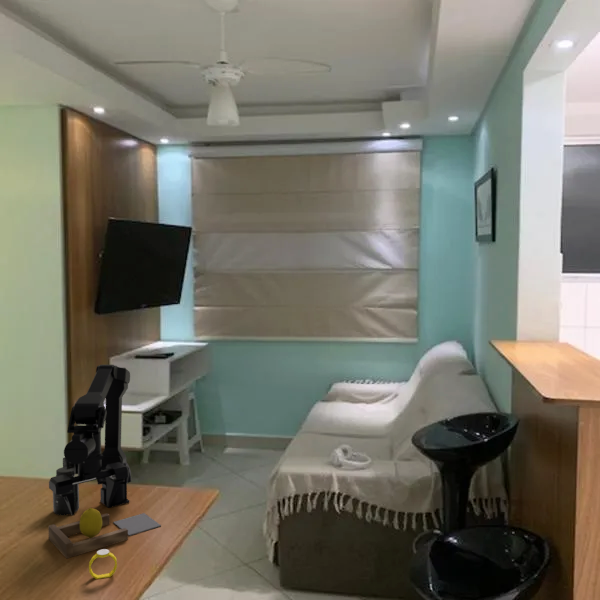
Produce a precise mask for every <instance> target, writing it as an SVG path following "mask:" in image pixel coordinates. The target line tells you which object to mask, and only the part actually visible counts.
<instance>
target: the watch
mask: <svg viewBox="0 0 600 600" xmlns="http://www.w3.org/2000/svg"><path fill="white" fill-rule="evenodd" d="M107 557H111V558H112V560H113V561H114V565H113V566H114V567H113V569H112V570H111V571H110V572H109V573H103V574H97V573H94V571H93V569H92V564H93V562H94V561H95V560H96V559H97V558H101V559H103V558H107ZM117 568H118V563H117V557H116V556H115V555H114V553H112V552H110V549H106V548H103V549H102V548H100V549H98V550H97V551H96V553H95V554H94V555H93V556H92V557H91V559H90V560H89V562H88V572H89V574H90V576H91V577H92V578H94V579H95V580H100V579H106V578H111V577H112V576H113V575H114V574H115V573H116V570H117Z"/></svg>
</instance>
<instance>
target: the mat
mask: <svg viewBox="0 0 600 600" xmlns="http://www.w3.org/2000/svg"><path fill="white" fill-rule="evenodd" d="M113 524H114V525H115V526H116V525H117V526H116V527H118V528H119V530H120V529H123V528H126V529H127V530H128V537H131V536H134V535H137V534H140V533H144V532H147V531H150V529H151V530H153V529H156V528H159V527H161V526H162V524H160V523H159V522H157V521H156V520H154V519H153V518H152V517H150V516H149V515H147V514H146V513H145V512H143V513H140V514H136V515H133V516H130V517H127V518H123V519H122V518H121V519H119V520H118V519H117V520H114V521H113Z"/></svg>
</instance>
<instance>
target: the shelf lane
mask: <svg viewBox="0 0 600 600" xmlns="http://www.w3.org/2000/svg"><path fill="white" fill-rule="evenodd" d="M101 517H102V527H104V526H108V525H111V522H110V514H109V513H107V512H106V513H103V514H101ZM79 524H80V520H77V521H75V522H71V523H67V524H63V525H60V526H57V525H56V524H54V523H53V524H49V525H48V526H47V527H48V529H47V531H48V540H49V541H50V542H51V544H52V545H53V546H54V547H56V548H57V550H58V551H59V552H60V554H62V555H63V556H64V557H65V558H66V559H69V558H70V559H71V558H73V557H76V556H79V555H82V554H85V553H88V552H92V551H95V550H100V549H102V548H105V547H107V546H111V545H114V544H118V543H121V542H124V541H127V540H129V536H128V530H127V529H126V528H123V529H120V528H119V529H117V530H114V531H110V532H107V533H104V534H100V535H96V536H94V537H93V538H87V539H83V540H80V541H76V542H73V541H72V540H71V539H69V538H68V537H70V536H73V534H74V535H77V534H80V533H79V532H81V531H80V526H79ZM76 533H77V534H76Z"/></svg>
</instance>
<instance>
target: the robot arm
mask: <svg viewBox="0 0 600 600" xmlns="http://www.w3.org/2000/svg"><path fill="white" fill-rule="evenodd" d="M130 381H131V372H130V371H129V370H128V369H127V368H126V367H120V366H117V365H115V364H99V365H97V366H96V369H95V375H94V378H92V381H91V383H90V386H89V387H88V390H87V392H86V393H85V394H84V395H83V396H82V395H81V396H79V398H78V399H77V400H76V401H75V403H74V405H73V406H72V407H71V410H70V415H69V421H68V425H67V426H68V427H67V434H72V436H71V440H70V441H69V442H68V443H67V444H66V445H65V447H64V450H63V456H64V457H62V467H63V469H64V470H68V469H71V472H74V473H75V475H77V476H75V477H72V478H69V477H68V476H67V475H65V474H64V475H60V476H56V475H55V476H52V477H50V479H49V481H48V489H49V490H51V492H52V493H53V492H54V493H55V494H58V495H60V496H62V497H64V499H65V501H66V503H67V505H68V508H69V510H70V513H71V514H70V515H71V516H75V513H76V512H75V504H74V492H73V491H72V489H73V485H76V484H79V485H81V484H83V483H88V482H93V481H97V485H101V487H100V500H99V501H100V503H102V504H103V505H104V506H105V507H107V508H108V509H111V508H114V507H118V506H121V505H124V504H128V503H130V500H129V499H128V483H131V482H132V470H131V468H130V465H129V463H127V455H126V453H125V452H124V450H123V449H122V414H123V411H122V410H123V397H124V396H125V393H127V392H126V391H127V390H128V389H129V383H130ZM104 402H105V403H104ZM102 429H104V449H103V451H102ZM74 512H75V513H74Z"/></svg>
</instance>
